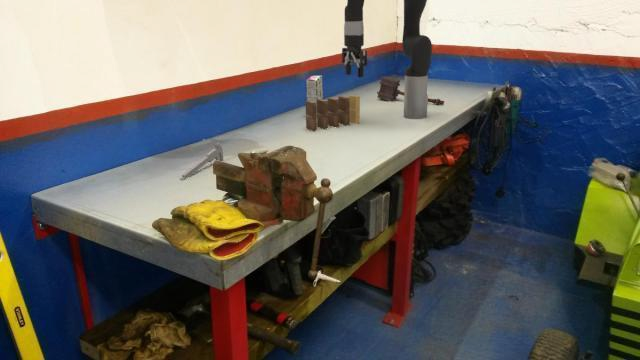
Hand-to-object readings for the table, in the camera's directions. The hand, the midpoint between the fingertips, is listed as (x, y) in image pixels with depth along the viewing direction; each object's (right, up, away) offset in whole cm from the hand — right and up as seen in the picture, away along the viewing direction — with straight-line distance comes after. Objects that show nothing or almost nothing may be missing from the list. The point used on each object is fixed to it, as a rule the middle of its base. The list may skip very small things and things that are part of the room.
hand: (354, 75), depth 200 cm
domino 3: (-8, -20, +2) cm, 21 cm away
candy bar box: (-16, -13, +20) cm, 29 cm away
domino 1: (-17, -22, -3) cm, 28 cm away
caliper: (-49, -38, -45) cm, 77 cm away
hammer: (+30, -4, +42) cm, 51 cm away
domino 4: (-4, -19, +4) cm, 20 cm away
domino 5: (0, -18, +7) cm, 19 cm away
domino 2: (-13, -21, 0) cm, 24 cm away
